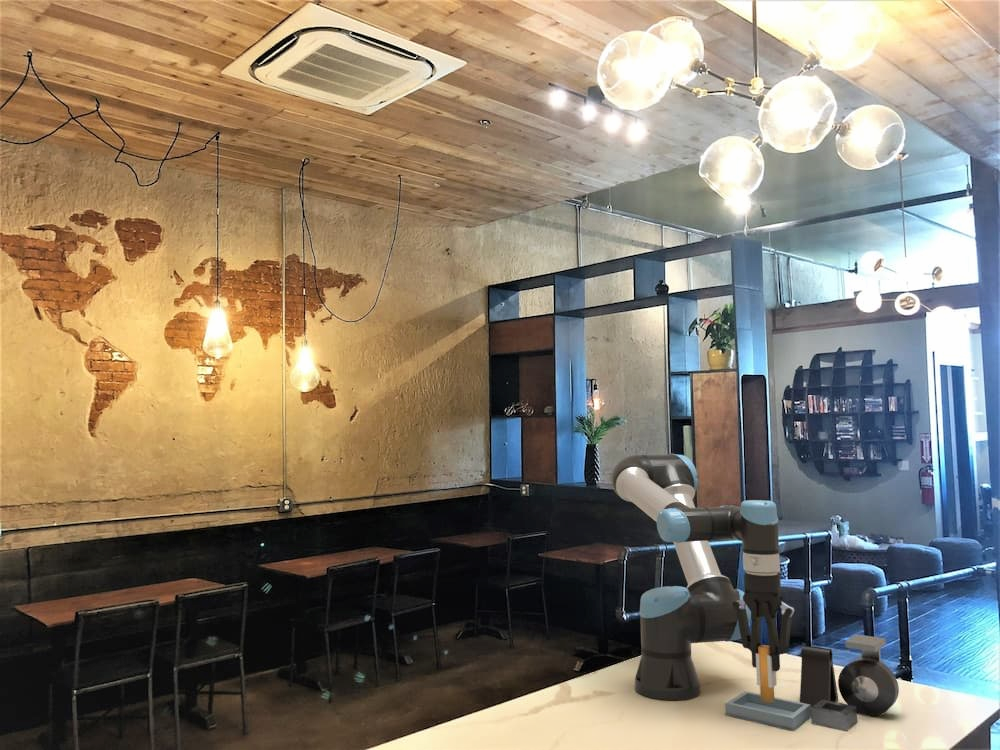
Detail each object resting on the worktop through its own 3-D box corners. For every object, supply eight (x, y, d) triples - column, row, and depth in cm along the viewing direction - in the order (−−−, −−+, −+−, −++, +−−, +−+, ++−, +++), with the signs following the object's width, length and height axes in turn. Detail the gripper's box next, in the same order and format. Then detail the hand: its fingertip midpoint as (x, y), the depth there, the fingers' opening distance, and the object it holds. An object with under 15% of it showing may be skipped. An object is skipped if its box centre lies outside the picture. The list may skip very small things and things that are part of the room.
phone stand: (828, 711, 164) (825, 654, 165) (799, 705, 167) (796, 649, 168) (838, 699, 171) (835, 645, 172) (811, 694, 174) (808, 641, 175)
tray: (725, 715, 162) (725, 703, 162) (745, 702, 169) (745, 691, 170) (793, 731, 152) (792, 718, 152) (811, 716, 160) (810, 704, 160)
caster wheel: (836, 712, 163) (833, 639, 164) (848, 702, 169) (844, 632, 170) (892, 723, 155) (888, 647, 157) (902, 713, 162) (898, 640, 163)
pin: (758, 700, 161) (755, 647, 162) (763, 697, 163) (760, 644, 164) (771, 703, 159) (768, 649, 160) (776, 699, 161) (773, 646, 162)
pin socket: (811, 723, 156) (810, 708, 157) (822, 713, 162) (821, 699, 162) (847, 731, 152) (846, 715, 152) (857, 721, 157) (856, 706, 157)
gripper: (721, 571, 166) (726, 682, 163) (789, 578, 156) (795, 696, 154) (736, 567, 171) (740, 674, 169) (802, 573, 162) (808, 687, 159)
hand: (766, 684), depth 161 cm, fingers closed on pin, 2 cm apart
